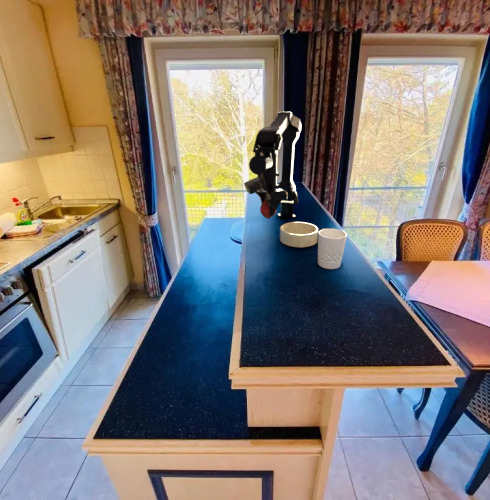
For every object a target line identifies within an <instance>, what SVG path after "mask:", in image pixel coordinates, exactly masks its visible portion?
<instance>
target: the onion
mask: <svg viewBox="0 0 490 500" xmlns="http://www.w3.org/2000/svg"><path fill="white" fill-rule="evenodd" d="M259 207H260V208H259V211H260V214H261V215H262V216H263V217H264V218H265V219H267V220H269V219H271V218H273V216H270V212H269V203H268V201H267V200H265V201H264V202H263V203H262V204H261V205H260V206H259ZM276 213H277V210H276V211H275V213H274V215H275V214H276Z"/></svg>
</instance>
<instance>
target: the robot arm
mask: <svg viewBox="0 0 490 500" xmlns="http://www.w3.org/2000/svg"><path fill="white" fill-rule="evenodd" d="M301 131H302V122H301V119H300V118H298V117H297V116H296V115H294V114H293V112H291V111H279V112H278V113H277V114H276V117H275V118H274V120H273V121H272V122H271V123H270V124H269V125H268V126H266V127H262V128H261V129H259V130H258V132H257V134H256V136H255V141H254V144H253V149H252V153H253V154H254V155H253V156H252V157H251V158H250V160H249V163H248V166H249V167H248V168H249V170H250V171H251V173H252V174H254V175H256V176H257V177H254V178H252V179H249V180H248V181H245V182H244V183H243V186H244V188H245V190H246V193H247V194H250V195H253V194H256V195H257V196H258V198H259V200H260V204H261V205H262V203H263V202H264V201H265V200H267V201H268V203H269V212H270V216H272V217H274V215H275V214H276V213H275V211H276V212H277V209H278V208H279V207H280V212H279V213H277V217H280V218H281V219H282V220H287V219H294V218H297V216H296V215H295V214H294V206H296V205H298V204H299V197H298V192H297V191H296V190H297V188H296V184H295V182H294V180H293V177H294V176H293V175H294V161H295V145H296V143H297V141H298V140H299V138H300V133H301ZM282 144H283V145H282ZM281 145H282V163H281V164H282V165H281V180H280V182H279V183H278V177H280V173H279V172H278V154H279V151H280V149H281ZM274 213H275V214H274Z"/></svg>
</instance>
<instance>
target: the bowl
mask: <svg viewBox="0 0 490 500" xmlns="http://www.w3.org/2000/svg"><path fill="white" fill-rule="evenodd" d="M318 235H319V228H318V226H317V225H315V224H313V223H309V222H305V221H291V222H286V223H283V224H282V225H280V227H279V241H280V242H281V243H282V244H284V245H286V246H287V247H292V248H308V247H311V246H314V245H316V244H318Z"/></svg>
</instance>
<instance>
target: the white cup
mask: <svg viewBox="0 0 490 500" xmlns="http://www.w3.org/2000/svg"><path fill="white" fill-rule="evenodd" d="M347 236H348V234H347V232H345V231H344V230H342V229H338V228H322V229H320V230H318V237H317V265H318V266H319V267H321V268H323V269H327V270H335V269H336V270H337V269H339V268H340V267H341V265H342V259H343V258H344V257H343V256H344V253H345V247H346V242H347Z"/></svg>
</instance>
